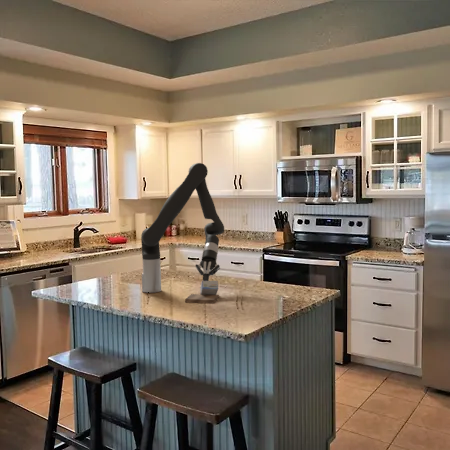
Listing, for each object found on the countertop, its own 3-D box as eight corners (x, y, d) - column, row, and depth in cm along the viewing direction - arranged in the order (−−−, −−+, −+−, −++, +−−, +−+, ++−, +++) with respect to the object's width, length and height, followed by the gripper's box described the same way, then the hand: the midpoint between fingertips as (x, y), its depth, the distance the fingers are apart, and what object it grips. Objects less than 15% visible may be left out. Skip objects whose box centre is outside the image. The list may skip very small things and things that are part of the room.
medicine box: (215, 287, 248) (218, 280, 241) (216, 295, 246) (218, 288, 238) (199, 287, 247) (201, 280, 239) (200, 295, 244) (202, 288, 237)
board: (185, 302, 233) (185, 299, 233) (191, 297, 244) (191, 294, 244) (214, 303, 231) (214, 299, 231) (219, 297, 241) (218, 294, 241)
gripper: (196, 248, 253) (190, 276, 242) (221, 248, 250) (217, 277, 239) (198, 257, 258) (193, 285, 247) (223, 257, 256) (219, 285, 245)
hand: (205, 281), depth 243 cm, fingers closed
